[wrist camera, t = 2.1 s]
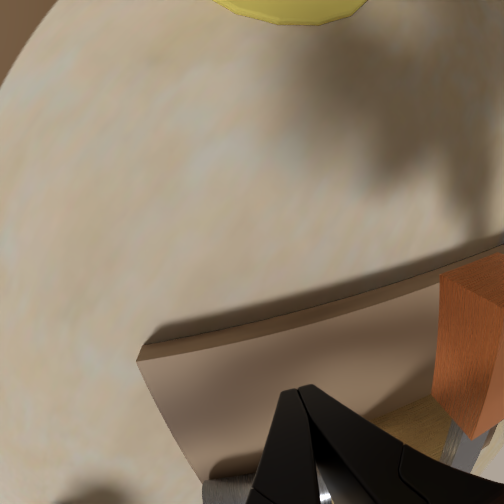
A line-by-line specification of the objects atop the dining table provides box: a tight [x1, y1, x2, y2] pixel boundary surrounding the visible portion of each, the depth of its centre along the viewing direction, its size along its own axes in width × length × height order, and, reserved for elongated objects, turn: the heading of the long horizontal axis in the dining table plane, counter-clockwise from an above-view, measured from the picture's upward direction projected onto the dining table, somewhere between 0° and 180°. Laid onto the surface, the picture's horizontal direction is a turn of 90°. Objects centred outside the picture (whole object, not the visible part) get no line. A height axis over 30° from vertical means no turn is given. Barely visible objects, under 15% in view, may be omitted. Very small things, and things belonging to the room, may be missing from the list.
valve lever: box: [431, 252, 504, 473], centre depth 8 cm, size 14×3×3 cm, turn 12°
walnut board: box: [136, 244, 504, 484], centre depth 17 cm, size 20×24×2 cm
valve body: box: [202, 394, 501, 504], centre depth 13 cm, size 5×23×6 cm, turn 102°
